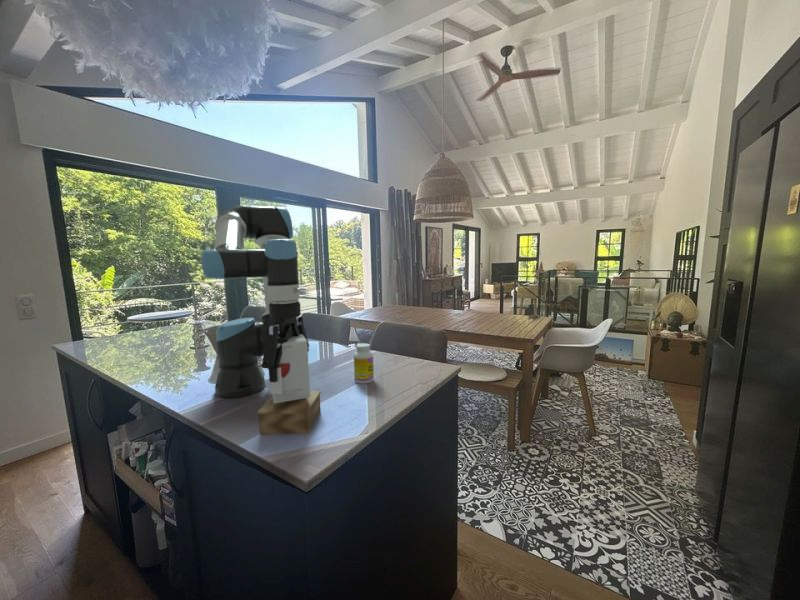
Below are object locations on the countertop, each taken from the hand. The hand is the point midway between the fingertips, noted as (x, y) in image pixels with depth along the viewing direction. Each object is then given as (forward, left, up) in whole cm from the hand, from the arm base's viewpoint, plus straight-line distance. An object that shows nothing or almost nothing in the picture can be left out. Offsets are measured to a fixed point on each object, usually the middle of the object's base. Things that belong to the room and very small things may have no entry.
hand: (289, 384), depth 88 cm
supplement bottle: (+10, +32, -11) cm, 35 cm away
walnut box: (0, 0, -11) cm, 11 cm away
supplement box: (0, 0, -3) cm, 3 cm away
